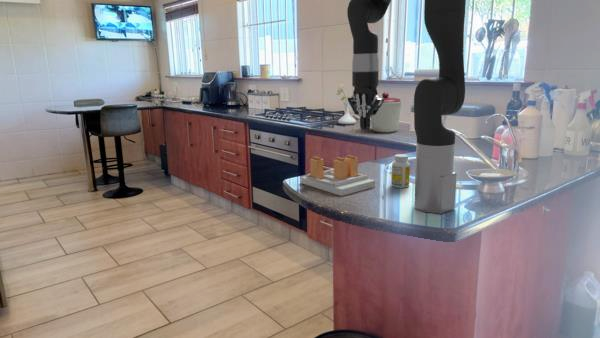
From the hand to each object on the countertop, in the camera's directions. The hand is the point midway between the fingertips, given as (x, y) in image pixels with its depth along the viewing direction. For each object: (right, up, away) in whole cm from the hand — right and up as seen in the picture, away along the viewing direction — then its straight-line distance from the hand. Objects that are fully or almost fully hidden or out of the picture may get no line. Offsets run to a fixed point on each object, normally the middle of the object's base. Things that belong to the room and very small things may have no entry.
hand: (364, 129), depth 129 cm
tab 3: (-3, -14, +8) cm, 17 cm away
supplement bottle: (+12, -17, +5) cm, 21 cm away
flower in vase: (+9, +16, +139) cm, 140 cm away
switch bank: (-8, -17, +7) cm, 20 cm away
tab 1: (-14, -15, +8) cm, 22 cm away
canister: (+27, +9, +108) cm, 111 cm away
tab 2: (-7, -15, +6) cm, 17 cm away
